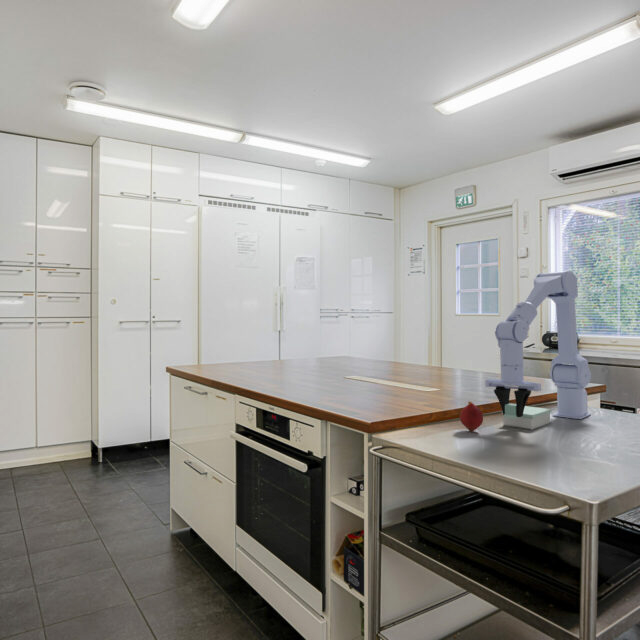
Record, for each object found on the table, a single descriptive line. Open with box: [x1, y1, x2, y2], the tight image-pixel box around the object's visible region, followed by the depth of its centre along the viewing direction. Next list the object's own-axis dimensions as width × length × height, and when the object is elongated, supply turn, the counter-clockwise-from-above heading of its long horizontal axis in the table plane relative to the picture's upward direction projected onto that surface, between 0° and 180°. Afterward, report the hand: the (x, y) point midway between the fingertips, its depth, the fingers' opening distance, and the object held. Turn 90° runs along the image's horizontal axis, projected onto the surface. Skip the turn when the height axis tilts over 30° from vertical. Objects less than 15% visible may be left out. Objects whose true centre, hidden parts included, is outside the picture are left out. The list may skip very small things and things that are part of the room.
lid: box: [501, 402, 553, 419], centre depth 136 cm, size 17×9×4 cm, turn 133°
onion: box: [459, 400, 484, 432], centre depth 130 cm, size 6×6×8 cm
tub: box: [502, 412, 551, 431], centre depth 138 cm, size 12×8×3 cm, turn 134°
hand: (512, 415), depth 132 cm, fingers closed on lid, 3 cm apart
